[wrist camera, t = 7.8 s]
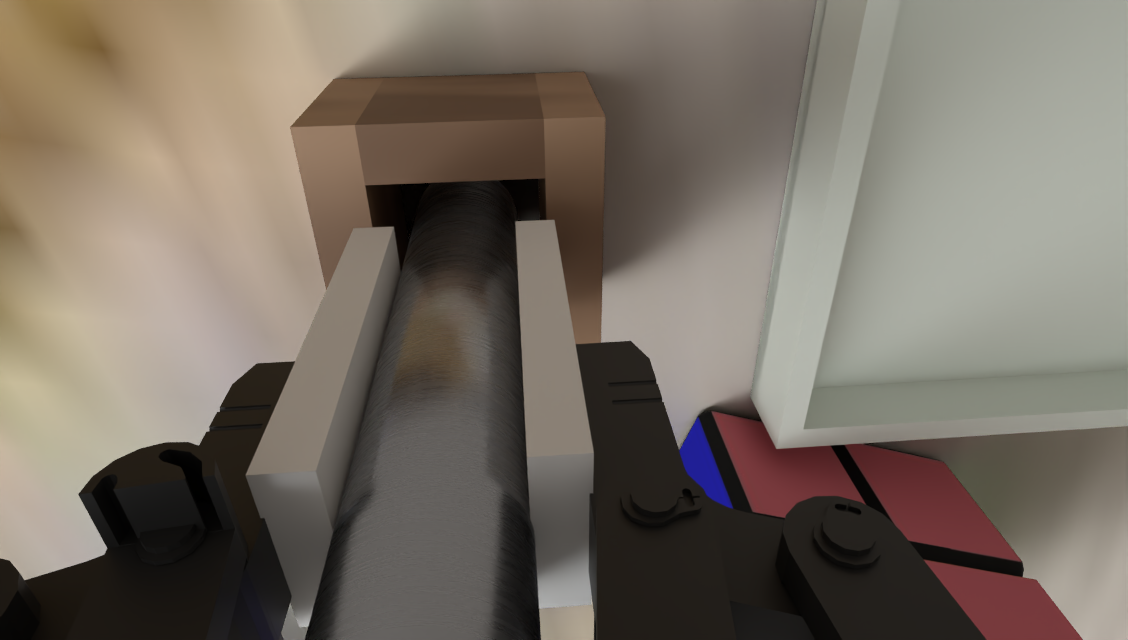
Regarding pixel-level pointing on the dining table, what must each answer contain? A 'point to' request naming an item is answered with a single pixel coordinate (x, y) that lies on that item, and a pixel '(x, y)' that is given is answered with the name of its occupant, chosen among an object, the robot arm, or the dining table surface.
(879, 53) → the tray
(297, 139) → the bored block
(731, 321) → the dining table surface
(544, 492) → the robot arm
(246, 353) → the dining table surface
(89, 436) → the dining table surface
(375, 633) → the pin
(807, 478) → the puzzle cube
